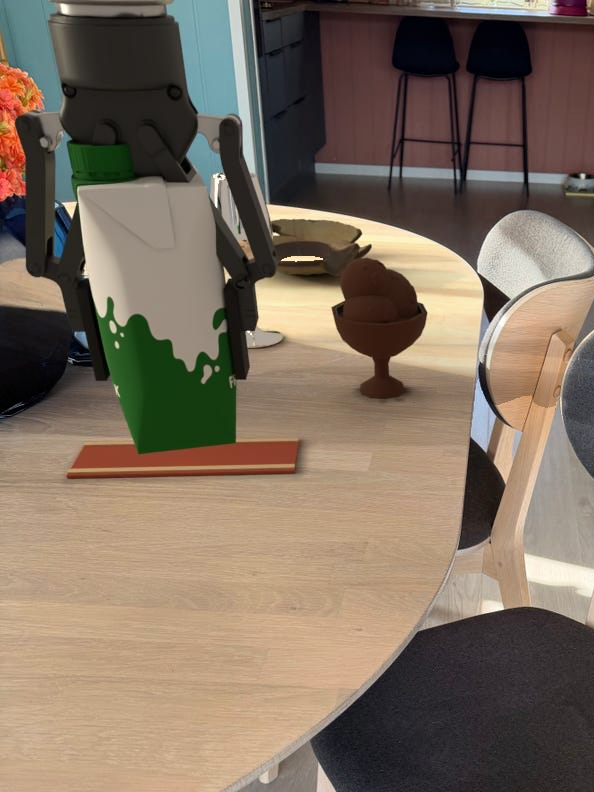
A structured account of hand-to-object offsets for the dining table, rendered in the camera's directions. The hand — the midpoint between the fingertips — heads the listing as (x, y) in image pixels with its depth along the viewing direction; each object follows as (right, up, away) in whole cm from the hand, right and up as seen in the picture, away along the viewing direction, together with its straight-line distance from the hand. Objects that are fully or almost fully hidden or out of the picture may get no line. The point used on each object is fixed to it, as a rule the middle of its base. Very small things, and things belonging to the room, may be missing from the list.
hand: (174, 373), depth 69 cm
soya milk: (0, -4, +3) cm, 5 cm away
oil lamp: (-6, +40, +83) cm, 92 cm away
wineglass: (-8, +21, +56) cm, 60 cm away
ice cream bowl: (+11, +10, +42) cm, 45 cm away
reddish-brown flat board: (-7, -1, +26) cm, 27 cm away
